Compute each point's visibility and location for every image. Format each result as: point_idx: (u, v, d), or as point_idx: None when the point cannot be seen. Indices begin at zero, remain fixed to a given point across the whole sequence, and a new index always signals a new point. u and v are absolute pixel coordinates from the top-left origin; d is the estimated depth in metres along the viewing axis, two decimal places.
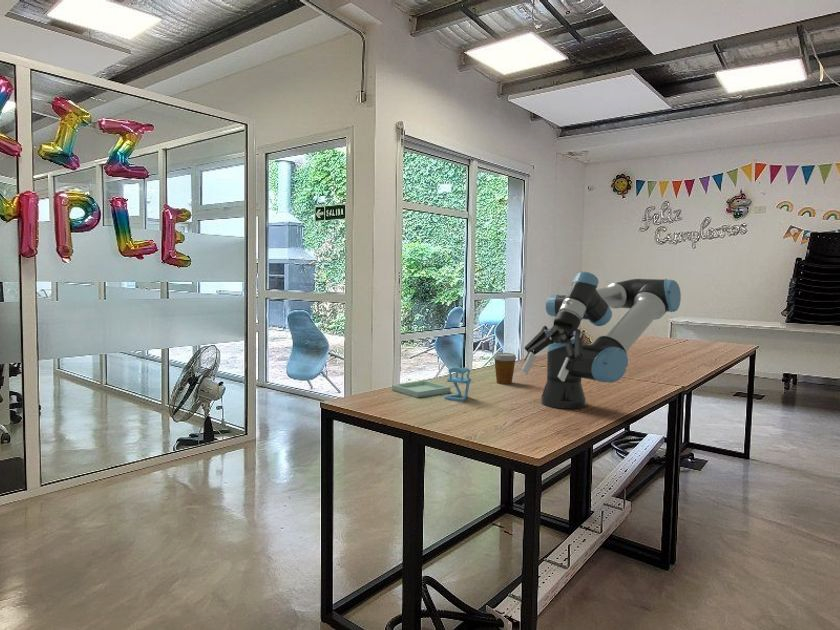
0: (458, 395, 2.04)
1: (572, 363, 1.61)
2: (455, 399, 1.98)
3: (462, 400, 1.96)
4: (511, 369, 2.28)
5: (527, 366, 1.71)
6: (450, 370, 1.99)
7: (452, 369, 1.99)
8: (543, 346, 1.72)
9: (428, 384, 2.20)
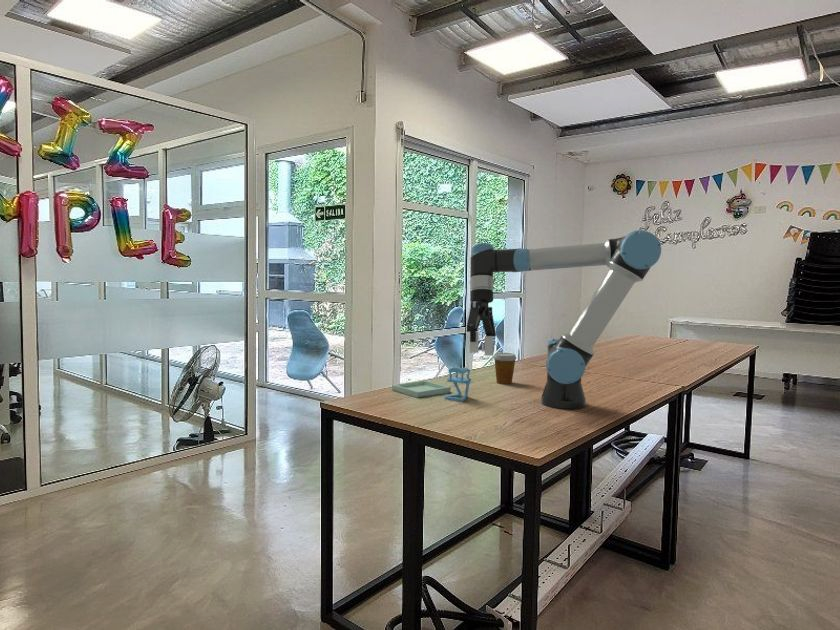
0: (458, 395, 2.04)
1: (472, 334, 1.74)
2: (455, 399, 1.98)
3: (462, 400, 1.96)
4: (511, 369, 2.28)
5: (487, 349, 1.87)
6: (450, 370, 1.99)
7: (452, 369, 1.99)
8: (487, 325, 1.86)
9: (428, 384, 2.20)
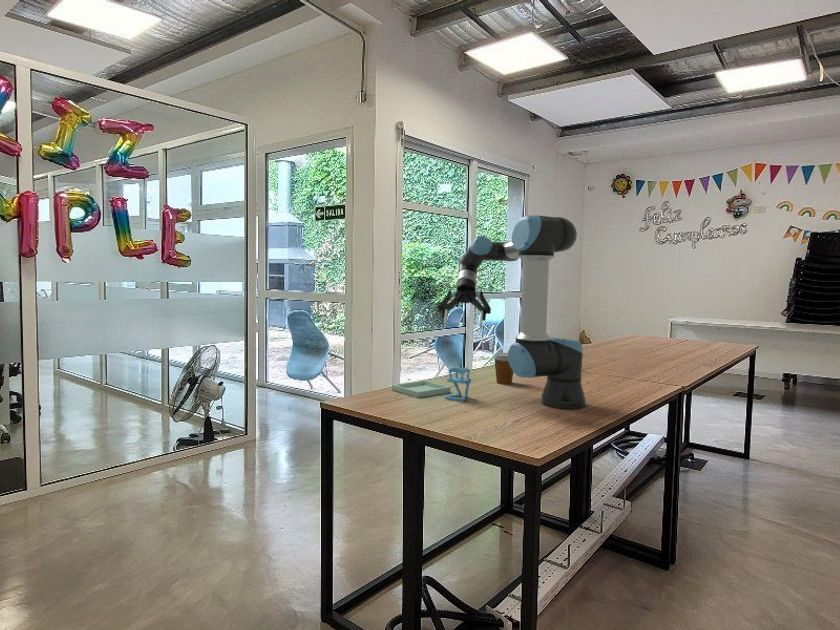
0: (458, 395, 2.04)
1: (442, 313, 2.13)
2: (455, 399, 1.98)
3: (462, 400, 1.96)
4: (511, 369, 2.28)
5: None
6: (450, 370, 1.99)
7: (452, 369, 1.99)
8: (476, 305, 2.14)
9: (428, 384, 2.20)
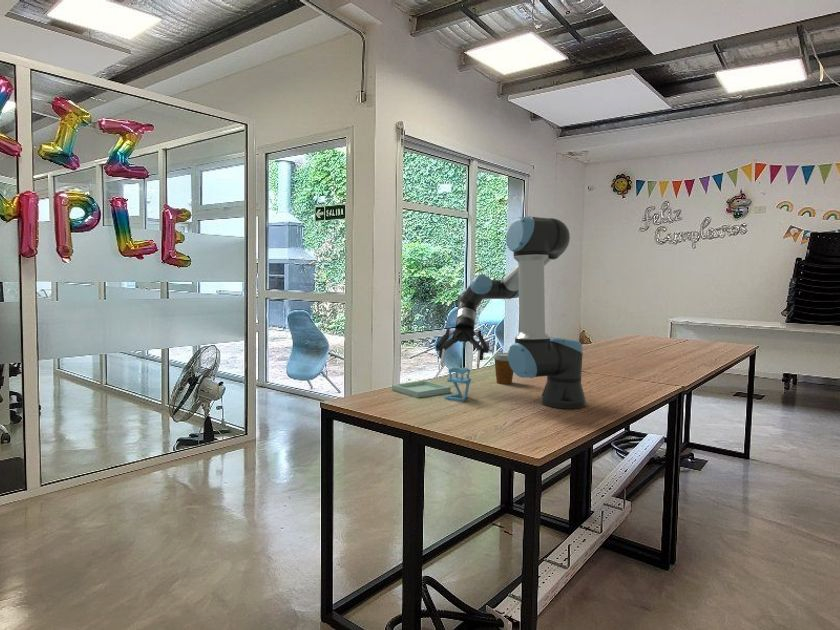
0: (458, 395, 2.04)
1: None
2: (455, 399, 1.98)
3: (462, 400, 1.96)
4: (511, 369, 2.28)
5: None
6: (450, 370, 1.99)
7: (452, 369, 1.99)
8: (474, 344, 2.13)
9: (428, 384, 2.20)
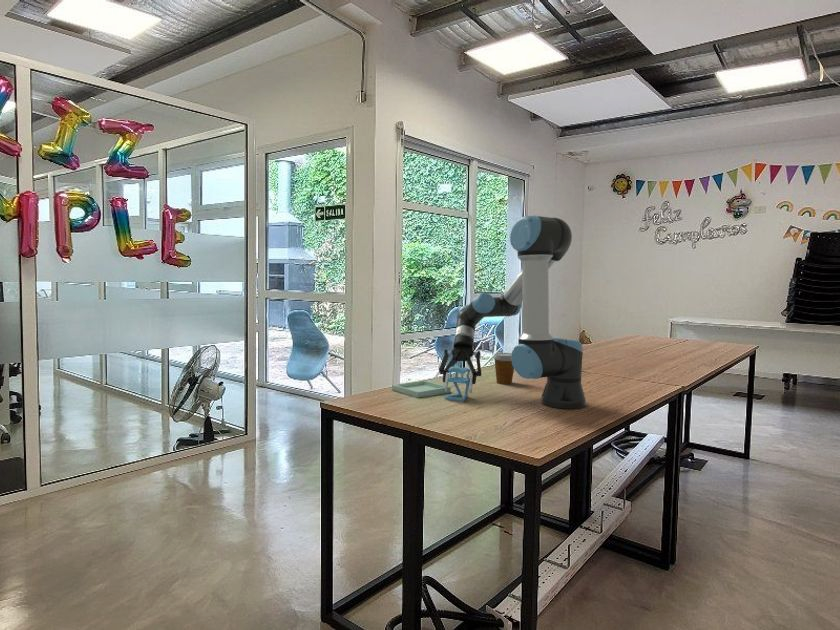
0: (458, 395, 2.04)
1: (443, 376, 2.03)
2: (455, 399, 1.98)
3: (462, 400, 1.96)
4: (511, 369, 2.28)
5: None
6: (450, 370, 1.99)
7: (452, 369, 1.99)
8: (469, 365, 2.04)
9: (428, 384, 2.20)
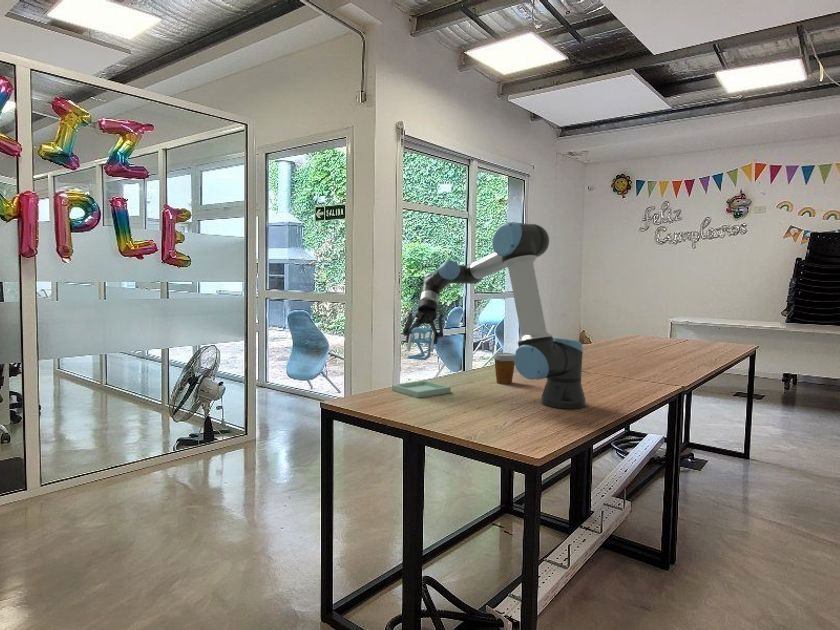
0: (421, 355, 2.14)
1: None
2: (417, 358, 2.08)
3: (424, 359, 2.06)
4: (511, 369, 2.28)
5: None
6: (413, 331, 2.09)
7: (415, 330, 2.09)
8: (432, 327, 2.14)
9: (428, 384, 2.20)
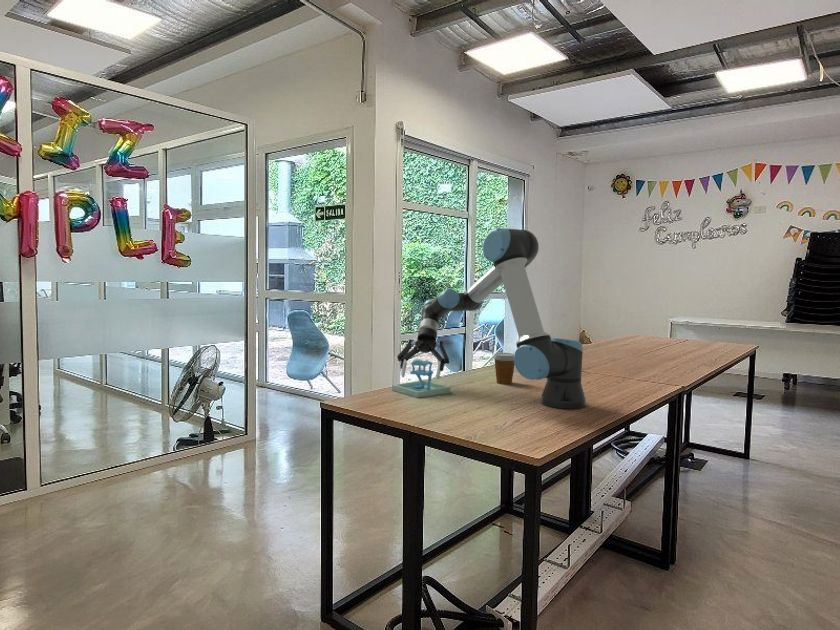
0: (421, 387, 2.15)
1: None
2: (417, 390, 2.08)
3: None
4: (511, 369, 2.28)
5: None
6: (413, 363, 2.10)
7: (415, 362, 2.10)
8: (435, 355, 2.15)
9: None
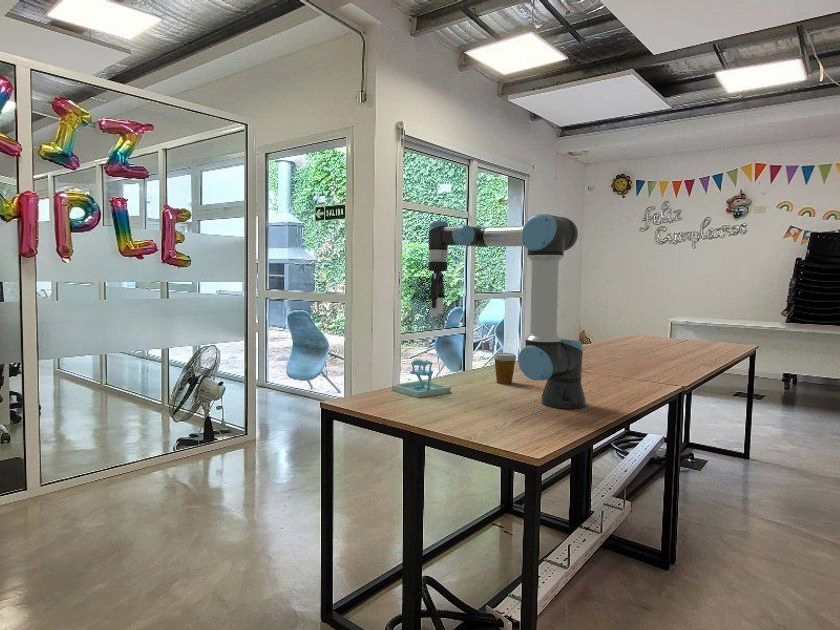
0: (421, 387, 2.15)
1: (433, 302, 2.10)
2: (417, 390, 2.08)
3: None
4: (511, 369, 2.28)
5: (438, 309, 2.25)
6: (413, 363, 2.10)
7: (415, 362, 2.10)
8: (440, 289, 2.22)
9: None
